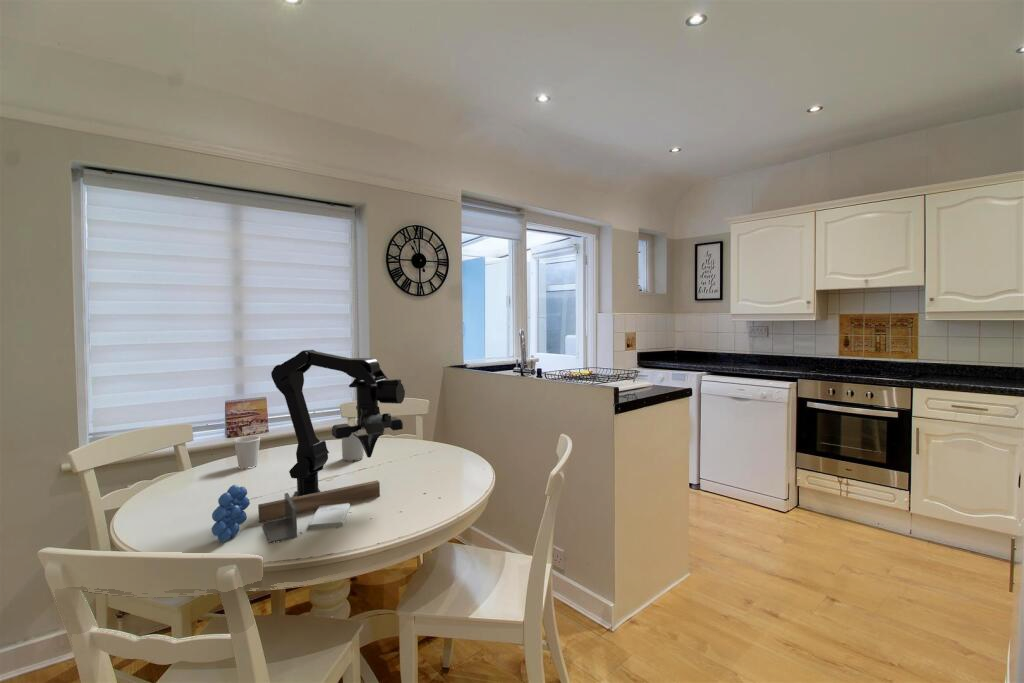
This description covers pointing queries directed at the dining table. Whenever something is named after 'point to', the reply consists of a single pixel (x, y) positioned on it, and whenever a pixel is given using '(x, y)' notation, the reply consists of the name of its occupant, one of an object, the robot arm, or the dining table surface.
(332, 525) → the external hard drive
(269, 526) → the bookend
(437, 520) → the dining table surface
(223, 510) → the grapes
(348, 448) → the can
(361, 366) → the robot arm
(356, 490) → the rail
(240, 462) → the dixie cup
